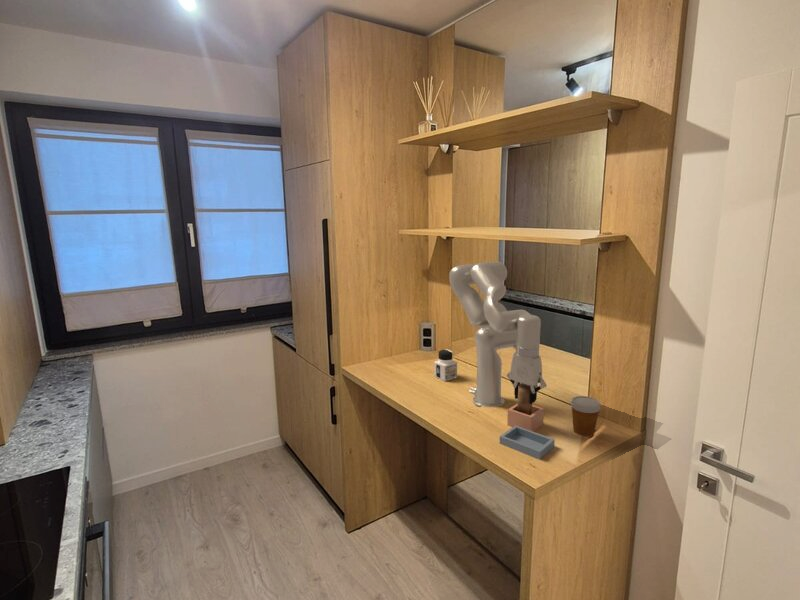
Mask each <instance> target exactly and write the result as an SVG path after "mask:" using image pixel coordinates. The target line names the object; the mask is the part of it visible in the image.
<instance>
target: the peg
mask: <svg viewBox="0 0 800 600" xmlns="http://www.w3.org/2000/svg"><path fill="white" fill-rule="evenodd" d="M530 393H531V387H530V386H529V385H526V384H522V383H520V384H519V385H518V398H517V403H518V404H517V403H516V404H517V411H518V412H521V413H524V414H527V415H532V405H533V403H532V404H530V403H529V401H530Z"/></svg>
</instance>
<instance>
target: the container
mask: <svg viewBox="0 0 800 600" xmlns="http://www.w3.org/2000/svg"><path fill="white" fill-rule="evenodd" d="M453 354H454V352H453V351H452V350H450V349H446V348H445V349H441V350H439V351H438V360H435V361H434V362H433V363H434V368H433V370H434V371H433V372H434V374H433V375H434V377H435V378H437V379H438V378H439V380H440V381H444V382H448V381H450V379H451V380H453V379H452V378H454V379H456V378H455V377H457V378H458V361H455V360H454V359H453V358H454V357H453ZM447 380H448V381H447Z"/></svg>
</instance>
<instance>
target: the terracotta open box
mask: <svg viewBox="0 0 800 600" xmlns="http://www.w3.org/2000/svg"><path fill="white" fill-rule="evenodd" d="M517 404H518V402H517V403H516V404H515V405H513V406H511V407H510V408H508V409H507V427H511V428H512V427H514V426H515V425H516V426H519V427H521V428H524V429H527V430H530V431H533V432H536V430H538V429H539V428H540V427H542V426H543V425H544V416H545V414H544V411H545V408H543V407H540V406H537V405H534V404H532V415H527V414H524V413H521V412H518V411H517Z"/></svg>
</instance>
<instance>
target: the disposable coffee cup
mask: <svg viewBox="0 0 800 600" xmlns="http://www.w3.org/2000/svg"><path fill="white" fill-rule="evenodd" d="M570 405H571V406H570V407H571V415H572V428H573V432H574V433H575V434H577V435H579V436H582V437H588V439H591V438H594V434H595V432H596V431H595V430H596V427H597V421H598V417H599V413H600V410H601V408H602V407H601V404H600V401H599V400H598V399H596V398H594V397H591V396H587V395H586V396H585V395H577V396H574V397H573V398H571V400H570Z"/></svg>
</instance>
